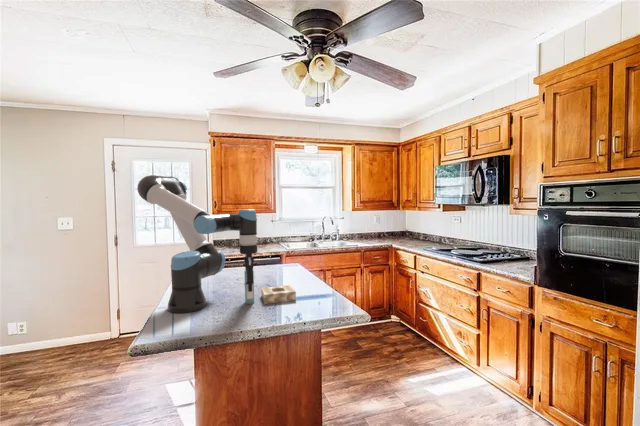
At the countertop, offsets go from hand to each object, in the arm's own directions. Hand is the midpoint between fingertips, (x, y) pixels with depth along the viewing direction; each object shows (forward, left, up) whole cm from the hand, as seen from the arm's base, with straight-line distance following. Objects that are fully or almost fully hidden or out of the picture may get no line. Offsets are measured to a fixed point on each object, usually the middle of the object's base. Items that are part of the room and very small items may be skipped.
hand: (249, 296), depth 140 cm
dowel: (0, 0, -3) cm, 3 cm away
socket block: (+13, +2, -3) cm, 13 cm away
